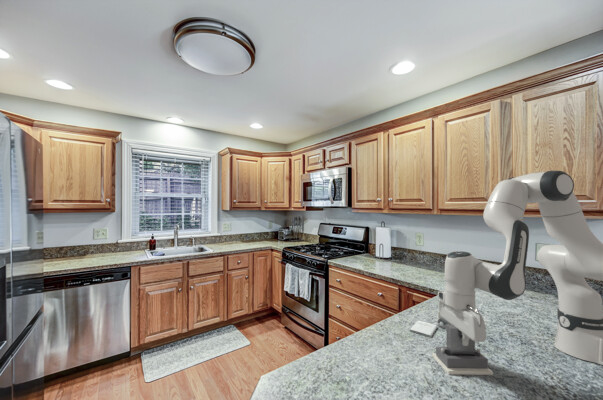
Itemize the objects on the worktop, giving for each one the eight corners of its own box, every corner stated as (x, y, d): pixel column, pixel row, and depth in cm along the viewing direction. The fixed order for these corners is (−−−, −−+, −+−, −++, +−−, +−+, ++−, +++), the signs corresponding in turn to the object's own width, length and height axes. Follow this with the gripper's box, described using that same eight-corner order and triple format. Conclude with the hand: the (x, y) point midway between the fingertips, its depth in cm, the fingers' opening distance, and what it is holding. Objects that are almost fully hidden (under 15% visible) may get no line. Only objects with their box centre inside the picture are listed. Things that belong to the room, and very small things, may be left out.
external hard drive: (409, 333, 108) (417, 323, 118) (430, 339, 103) (437, 328, 113) (409, 329, 109) (417, 319, 118) (430, 335, 103) (437, 324, 113)
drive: (470, 355, 86) (469, 325, 87) (475, 359, 84) (474, 328, 84) (446, 354, 86) (446, 325, 87) (450, 359, 84) (450, 328, 84)
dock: (471, 356, 90) (471, 341, 90) (493, 374, 80) (492, 358, 80) (432, 356, 90) (432, 341, 90) (448, 374, 80) (448, 357, 80)
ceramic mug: (448, 320, 120) (447, 304, 120) (465, 328, 112) (464, 310, 113) (432, 324, 116) (431, 307, 116) (448, 332, 108) (448, 314, 109)
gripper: (491, 312, 76) (493, 359, 75) (451, 291, 96) (452, 328, 95) (470, 312, 76) (471, 359, 75) (435, 290, 96) (435, 327, 95)
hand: (460, 341), depth 85 cm, fingers closed on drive, 2 cm apart
